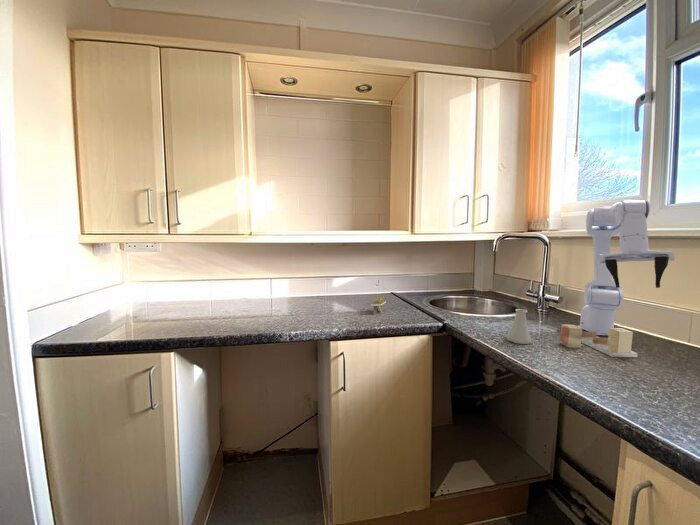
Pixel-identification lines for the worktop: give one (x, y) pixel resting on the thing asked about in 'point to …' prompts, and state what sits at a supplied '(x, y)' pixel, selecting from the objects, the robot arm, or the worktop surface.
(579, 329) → the block
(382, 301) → the green irregular piece
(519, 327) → the flask
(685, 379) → the worktop surface
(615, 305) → the robot arm
